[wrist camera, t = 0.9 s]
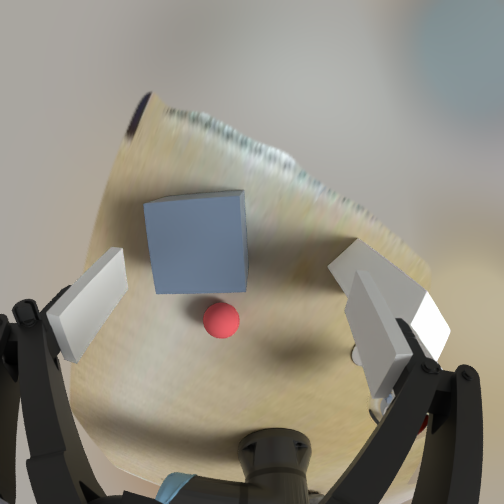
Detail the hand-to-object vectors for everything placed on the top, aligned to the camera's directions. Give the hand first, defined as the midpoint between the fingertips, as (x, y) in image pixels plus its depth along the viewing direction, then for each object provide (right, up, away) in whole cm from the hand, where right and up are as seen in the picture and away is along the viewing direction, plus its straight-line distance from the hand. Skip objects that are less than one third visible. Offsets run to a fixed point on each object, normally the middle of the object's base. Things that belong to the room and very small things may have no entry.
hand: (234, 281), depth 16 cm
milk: (+15, 0, +24) cm, 28 cm away
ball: (-3, -8, +24) cm, 25 cm away
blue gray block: (-5, +4, +23) cm, 24 cm away
